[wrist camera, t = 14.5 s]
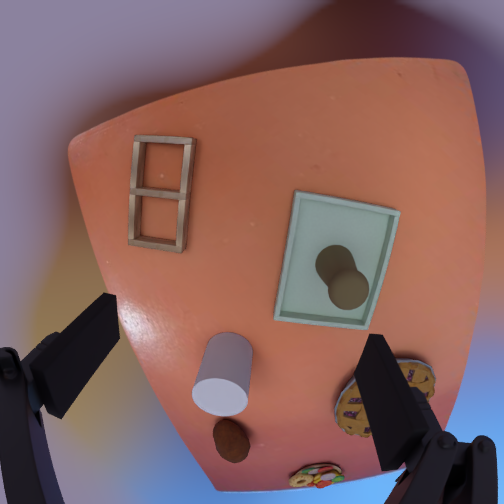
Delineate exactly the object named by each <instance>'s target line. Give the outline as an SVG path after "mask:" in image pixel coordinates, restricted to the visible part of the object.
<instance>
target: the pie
mask: <svg viewBox="0 0 504 504" xmlns="http://www.w3.org/2000/svg"><path fill="white" fill-rule="evenodd" d="M395 359H396V361H397V363H398V364H399V366H400V368H401V370H402V372H403V374H404V376H405V378H406V380H407V382H408V384H409V386H410V387H417V388H418V389H419V390H421V391H422V392H423V393H424V395H425V397H426V399H427V401H428V403H429V399H430V398H431V397H432V396H433V395H434V392H435V390H434V386H435V381H436V378H435V375H434V372H433V369H432V367H431V366H429V365H427V364H425V363H423V362H421V361H419V360H412V359H409V358H395ZM334 410H335V422H336V423H337V424H338V426H339V427H340V428H341V429H342V430H343V431H345V432H346V433H347V434H349V435H354V434H355V435H360V436H361V437H366V438H368V437H369V436H370V435H372V433H371V429H370V426H369V422H368V419H367V416H366V412H365V409H364V406H363V402H362V399H361V396H360V393H359V389H358V386H357V383H356V380H355V377H354V376H353V377H352V378H351V379H350V380H349V382H348V383H347V384H346V387H345V389H344V390H343V391H342V392H341V394H340V397H339V399H338V401H337V404H336V406H335V408H334Z"/></svg>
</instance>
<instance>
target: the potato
mask: <svg viewBox="0 0 504 504" xmlns="http://www.w3.org/2000/svg"><path fill="white" fill-rule="evenodd" d="M213 437H214V441H215V445H216V449H217V451H218V453H219V454H220V456H221V457H222V458H224V459H225V460H227V461H229V462H232V463H238V462H241V461H243V460H244V459H245V458H246V457H247V456H248V452H249V449H250V443H249V440H248V438H247V437H246V435H245V434H244V432H243V431H242V430H241V429H240V428H239V427H238V426H237V425H236V424H235V423H233V422H232V421H229V420H222V421H219V422H218V423H217V424H216V425H215V427H214V429H213Z"/></svg>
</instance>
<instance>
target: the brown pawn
mask: <svg viewBox="0 0 504 504" xmlns="http://www.w3.org/2000/svg"><path fill="white" fill-rule="evenodd" d="M315 268H316V272H317V273H318V275H319V277H320V278H321V279H322V280H323V282H324V283H325V284H326V285H327V287H328V294H329V298H330V300H331V302H332V303H333V304H334V305H335V306H336V307H338V308H340V309H342V310H353V309H356V308H358V307H360V306H361V305H362V304H363V303H364V302H365V301H366V299H367V297H368V294H369V283H368V280H367V278H366V277H365V275H363V274H362V273H361V272H360V271H358V270H357V267H356V264H355V261H354V258H353V256H352V254H351V252H350V251H349V250H348V249H347V248H346V247H344V246H341V245H331V246H328V247H326V248H324V249H323V250H322V251H321V252H320V253H319V254H318V256H317V258H316V262H315Z"/></svg>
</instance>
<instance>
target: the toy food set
mask: <svg viewBox="0 0 504 504" xmlns="http://www.w3.org/2000/svg"><path fill="white" fill-rule="evenodd" d="M341 474H342V471H341V469H340V468H339V467H337V466H335V465H331V464H315V465H311V466H308V467H305V468H303V469H301V470H300V471H299V472H297V473H296V475H294V476H292V477H291V478H290V479H289V484H290V485H291V486H293V487H300V486H316V487H317V488H324V487H326V486H328V485H331V484H332V483H334V482H340V481H342V480H344V475H341Z"/></svg>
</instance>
